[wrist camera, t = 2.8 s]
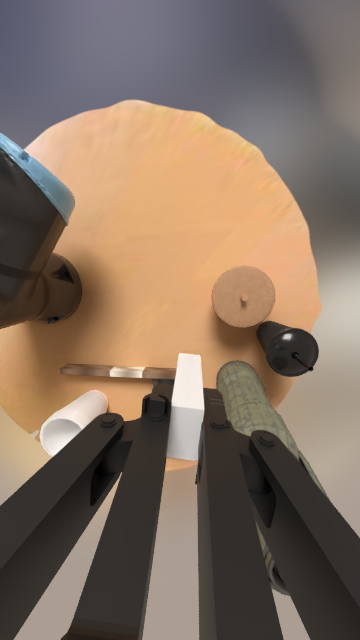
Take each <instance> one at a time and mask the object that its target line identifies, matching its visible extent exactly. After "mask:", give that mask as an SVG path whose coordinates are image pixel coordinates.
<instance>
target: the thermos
mask: <svg viewBox="0 0 360 640" xmlns="http://www.w3.org/2000/svg"><path fill="white" fill-rule="evenodd" d="M217 389H218V391H219V392H220V393H221V394H222V397H223V401H224V406H225V411H226V415H227V419H228V420H229V421H230V422H231V423H232V425H233V429H234V430H236V431H238V432H240V433H242V434H245V435H248V436H251V433H252V432H253V431H255V430H265V431H269V432H271V433H273V434H274V435H276V436H277V437H278V438H279V439H280V440H281V441H282V442H283V443H284V445H285V446H286V447H287V448H288V450H289V451H290V452H291V453H292V455H293V456H294V457H295V458H296V460H297V461H298V462H299V463H300V464H301V466H302V467H303V468H304V469H305V471H306V472H307V473H308V474H309V476H310V477H311V478H312V479H313V481H314V482H315V483H316V484H317V486H318V487H319V488H320V489H321V491H322V492H323V493H324V494H325V496H326V497H327V498H328V496H327V494H326V493H325V491H324V489H323V487H322V486H321V484H320V482H319V480H318V479H317V477H316V475H315V474H314V472H313V470H312V468H311V466H310V465H309V463H308V461H307V460H306V459H305V458H304V456H303V455H302V453H301V452H300V451H299V450H298V448H297V445H296V443H295V441H294V439H293V437H292V435H291V434H290V432H289V430H288V428H287V426H286V425H285V423H284V421H283V419H282V418H281V416H280V415H279V414H278V413H277V412H276V411H275V410H274V409H273V408H272V406H271V404H270V402H269V400H268V398H267V396H266V395H265V393H264V392H265V387H264V385H263V383H262V381H261V379H260V377H259V375H258V374H257V373H256V372H255V370H254V369H253V368H252V367H251V365H249V364H247V363H246V362H243V361H231V362H229V363H226V364H225V365H224V366H222V367H221V368H220V370H219V372H218V374H217ZM328 499H329V498H328ZM329 501H330V500H329ZM330 502H331V501H330ZM255 522H256V521H255ZM256 526H257V530H258V534H259V539H260V543H261V547H262V551H263V555H264V560H265V564H266V568H267V572H268V576H269V581H270V585H271V588H272V589H274V590H276V591H278V592H280V593H281V594H284V595H288V596H290V594H289V592H288V590H287V588H286V586H285V583H284V581H283V579H282V577H281V575H280V573H279V570H278V568H277V566H276V564H275V562H274V560H273V558H272V555H271V553H270V551H269V549H268V547H267V545H266V542H265V540H264V538H263V536H262V534H261V532H260V529H259V527H258V525H257V523H256Z"/></svg>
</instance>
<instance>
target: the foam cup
mask: <svg viewBox="0 0 360 640" xmlns="http://www.w3.org/2000/svg"><path fill="white" fill-rule="evenodd" d="M108 405H109V403H108V399H107V397H106V396H105V395H104V393H102V392H100V391H98V390H91V391H88V392H86V393H84V394H83V395H82V396H80V397H79V398H77V399H76V400H74V401H73V402H71V403H70V404H68V405H67V406H65V407H64V408H62V409H61V410H59V411H56V412H55V413H54V414H53V415H52V416H51V417H49V418H48V419H47V421H46V422H45V423H44V424H43V425H42V426H41V431H40V435H39V436H40V440H41V444H42V447H43V448H44V449H45V450H46V451H47V453H48V454H49V455H50V456H52V457H53V456H54V455H56V454H57V453H58V452H59V451H60V450H61V449H62V448H63V447H64V446H65V445H66V444H67V443H68V442H69V441H71V440H72V439H73V438H74V437H75V436H76V435H77V434H78V433H79V432H80V431H81V430H82V429H83V428H85V427H86V426H87V425H88V424H89V423H90V422H91V421H92V420H93V419H94V418H95V417H97V416H98V415H100V414H103V413H106V411H107V408H108Z"/></svg>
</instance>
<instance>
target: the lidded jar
mask: <svg viewBox="0 0 360 640" xmlns="http://www.w3.org/2000/svg"><path fill="white" fill-rule="evenodd" d="M274 302H275V289H274V286H273V283H272V281H271V280H270V278H269V277H268V276H267V275H266V274H265V273H264V272H263V271H261V270H260V269H258V268H255V267H252V266H238V267H234V268H231V269H229V270H227V271H226V272H225V273H223V274H222V275H221V276H220V277H219V278H218V280H217V281H216V283H215V285H214V288H213V291H212V304H213V308H214V310H215V312H216V314H217V315H218V317H219V318H220V319H221V320H222V321H224V322H225V323H226V324H228V325H230V326H234V327H238V328H246V327H251V326H254V325H256V324H259V323H260V322H262V321H263V320H264V319H265V318H266V317H267V316H268V315H269V314H270V312H271V310H272V308H273V305H274Z"/></svg>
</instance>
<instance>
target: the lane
mask: <svg viewBox="0 0 360 640" xmlns="http://www.w3.org/2000/svg"><path fill="white" fill-rule="evenodd" d="M176 370H177V369H175V368H151V367H127V366H103V365H80V364H67V365H65V366H64V367H62V368H61V369H60V373H61V374H68V375H90V376H111V377H133V378H153V387H154V386H155V385H157V384H158V383H161V384H170V385H174V383H175V377H176Z"/></svg>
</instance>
